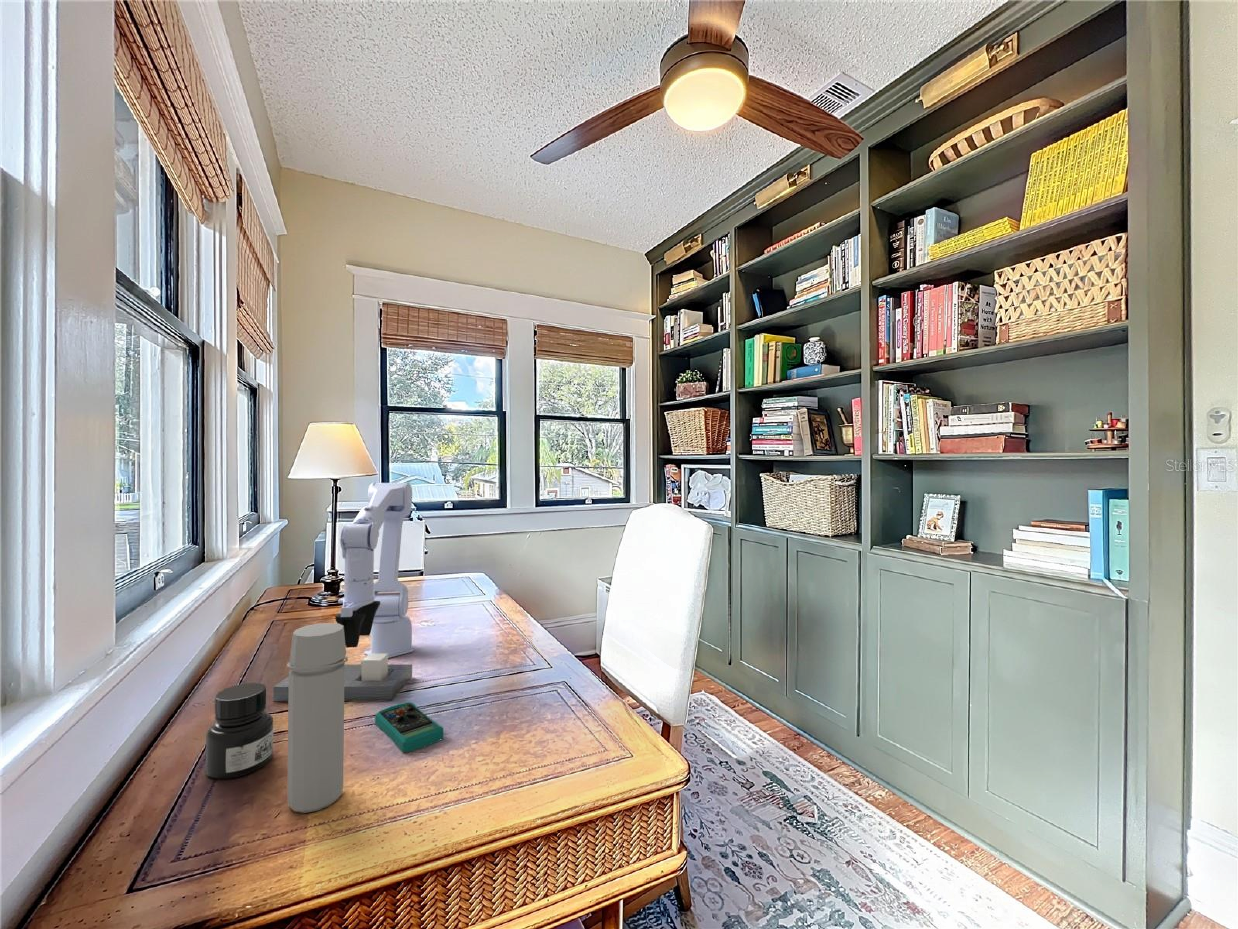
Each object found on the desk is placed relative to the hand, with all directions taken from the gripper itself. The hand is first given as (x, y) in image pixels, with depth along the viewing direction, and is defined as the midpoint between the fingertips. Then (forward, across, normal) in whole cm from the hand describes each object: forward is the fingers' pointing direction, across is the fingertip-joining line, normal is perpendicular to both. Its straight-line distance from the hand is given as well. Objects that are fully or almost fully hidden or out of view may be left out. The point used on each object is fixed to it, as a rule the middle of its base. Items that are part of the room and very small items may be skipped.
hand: (358, 640), depth 116 cm
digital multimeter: (+11, +20, +16) cm, 28 cm away
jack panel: (+10, 0, -2) cm, 11 cm away
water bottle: (+11, +38, +8) cm, 41 cm away
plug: (+10, 0, +4) cm, 11 cm away
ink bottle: (+11, +29, -8) cm, 32 cm away
